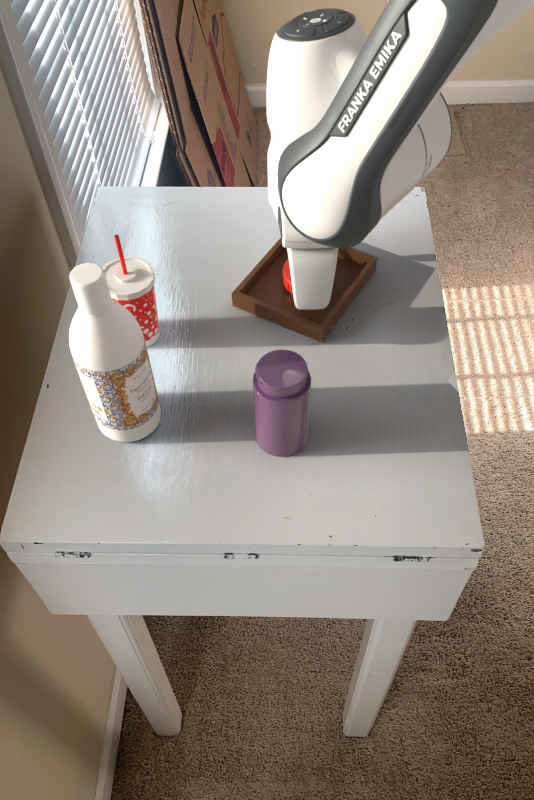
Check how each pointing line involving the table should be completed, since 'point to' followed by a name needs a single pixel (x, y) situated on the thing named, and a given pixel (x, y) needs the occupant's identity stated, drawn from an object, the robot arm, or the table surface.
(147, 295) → the beverage cup
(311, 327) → the tray
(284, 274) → the lid
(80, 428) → the table surface
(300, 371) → the jar
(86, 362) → the bath foam
